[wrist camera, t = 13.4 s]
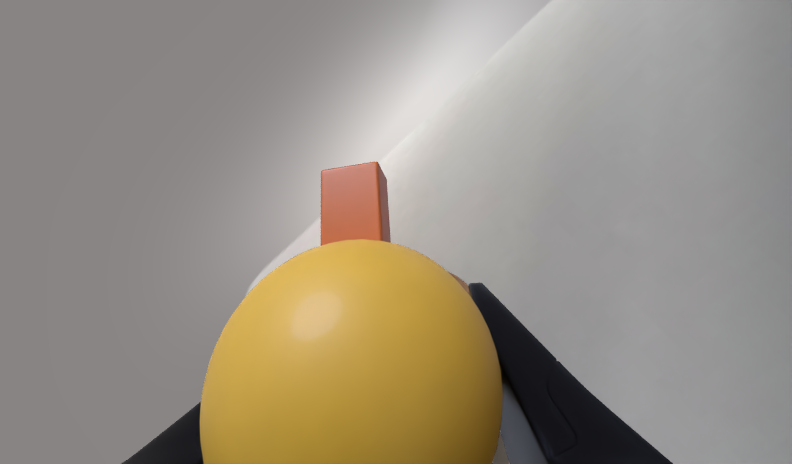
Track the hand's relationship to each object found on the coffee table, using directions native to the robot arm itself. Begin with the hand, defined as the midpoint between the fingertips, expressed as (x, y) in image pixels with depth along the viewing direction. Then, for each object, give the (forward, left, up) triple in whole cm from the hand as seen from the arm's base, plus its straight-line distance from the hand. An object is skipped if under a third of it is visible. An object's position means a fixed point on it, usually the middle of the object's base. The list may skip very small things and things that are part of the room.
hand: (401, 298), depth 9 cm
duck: (-1, -1, -6) cm, 6 cm away
